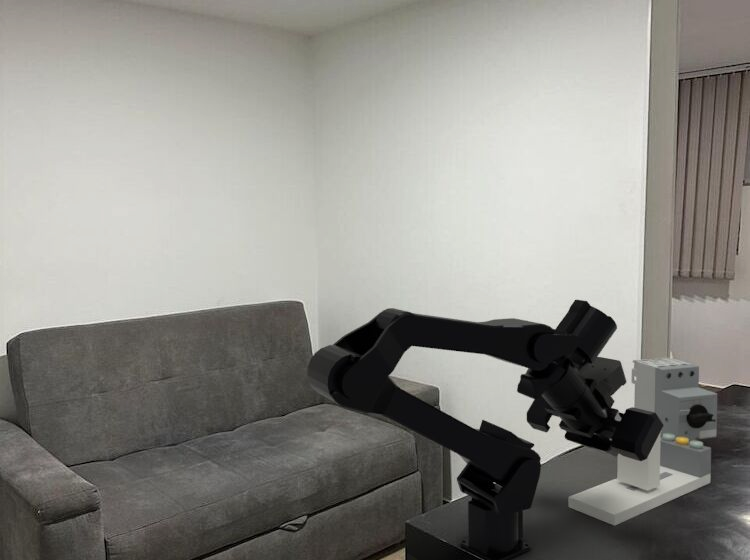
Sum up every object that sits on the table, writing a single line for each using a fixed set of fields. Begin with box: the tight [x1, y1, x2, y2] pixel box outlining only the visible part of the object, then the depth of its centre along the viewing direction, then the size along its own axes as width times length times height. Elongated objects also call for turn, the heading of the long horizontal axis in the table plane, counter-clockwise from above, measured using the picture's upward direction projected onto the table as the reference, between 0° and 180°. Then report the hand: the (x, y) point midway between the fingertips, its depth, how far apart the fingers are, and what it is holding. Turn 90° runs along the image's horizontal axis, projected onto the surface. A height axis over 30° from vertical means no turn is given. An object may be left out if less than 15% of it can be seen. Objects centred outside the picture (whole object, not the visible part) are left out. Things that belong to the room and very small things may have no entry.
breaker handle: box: [616, 430, 662, 491], centre depth 101 cm, size 3×5×9 cm, turn 36°
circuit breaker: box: [631, 357, 718, 442], centre depth 120 cm, size 8×14×15 cm, turn 15°
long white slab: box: [567, 433, 712, 526], centre depth 102 cm, size 24×8×6 cm, turn 126°
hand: (616, 453), depth 98 cm, fingers closed
